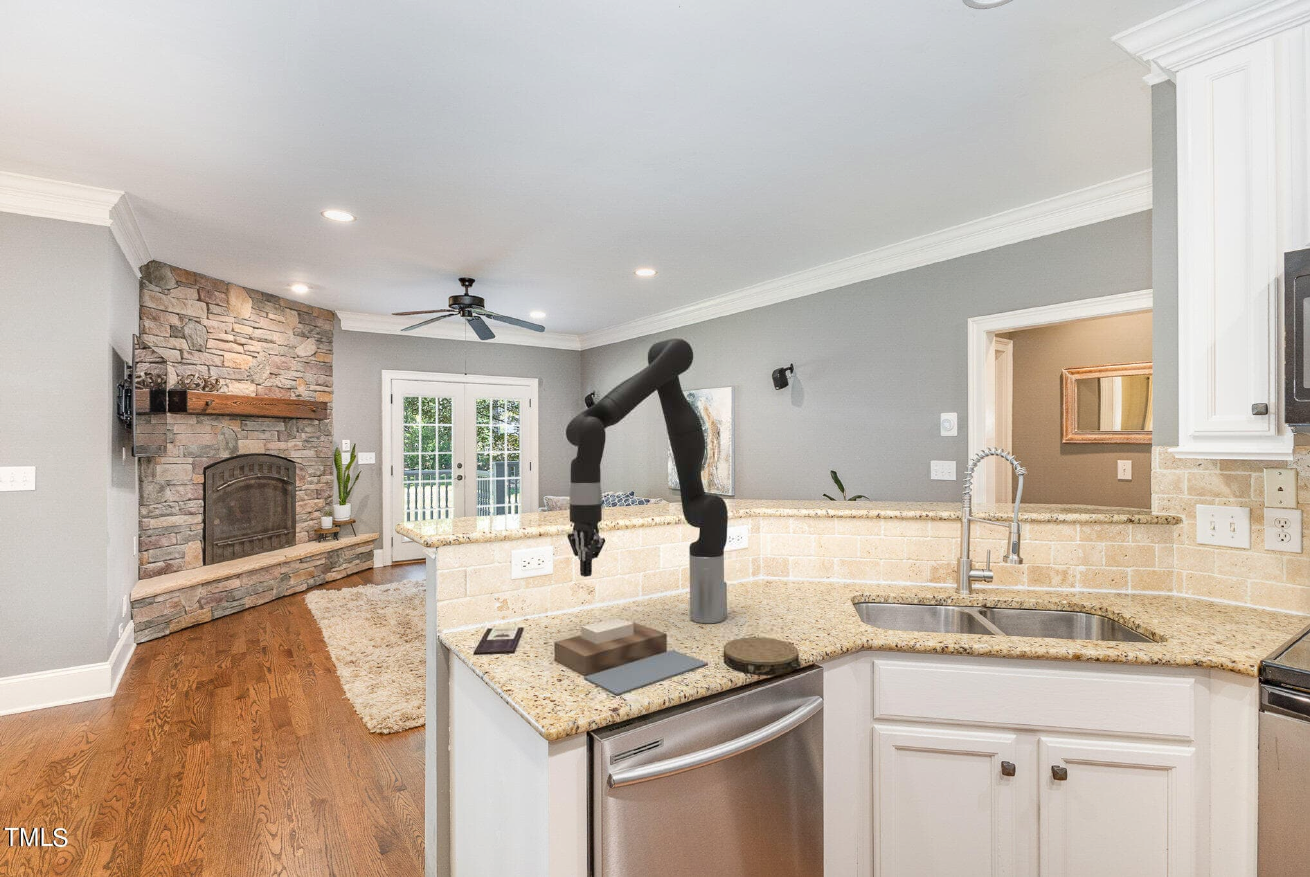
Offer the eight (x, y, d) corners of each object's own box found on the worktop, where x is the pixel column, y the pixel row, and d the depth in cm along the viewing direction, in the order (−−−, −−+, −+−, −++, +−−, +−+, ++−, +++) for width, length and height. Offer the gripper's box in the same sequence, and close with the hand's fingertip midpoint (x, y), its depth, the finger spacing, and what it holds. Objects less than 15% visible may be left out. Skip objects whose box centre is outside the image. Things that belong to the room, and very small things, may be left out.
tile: (617, 628, 141) (617, 617, 141) (633, 634, 137) (633, 623, 137) (581, 637, 135) (581, 626, 135) (596, 644, 130) (596, 632, 130)
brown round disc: (814, 664, 129) (813, 650, 129) (765, 683, 119) (765, 668, 119) (756, 645, 142) (756, 632, 142) (708, 661, 132) (708, 647, 132)
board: (633, 638, 146) (633, 622, 146) (666, 651, 137) (666, 633, 137) (554, 660, 132) (554, 641, 132) (585, 676, 123) (585, 656, 123)
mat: (673, 651, 137) (673, 649, 137) (707, 664, 129) (707, 663, 129) (583, 678, 121) (583, 676, 121) (616, 695, 113) (616, 693, 113)
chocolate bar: (473, 652, 136) (487, 628, 154) (473, 656, 136) (487, 632, 154) (514, 651, 137) (523, 627, 155) (514, 655, 137) (523, 631, 155)
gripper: (615, 502, 140) (615, 578, 140) (583, 499, 150) (583, 569, 150) (588, 504, 135) (588, 583, 135) (557, 501, 145) (557, 573, 145)
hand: (585, 575), depth 142 cm, fingers closed
